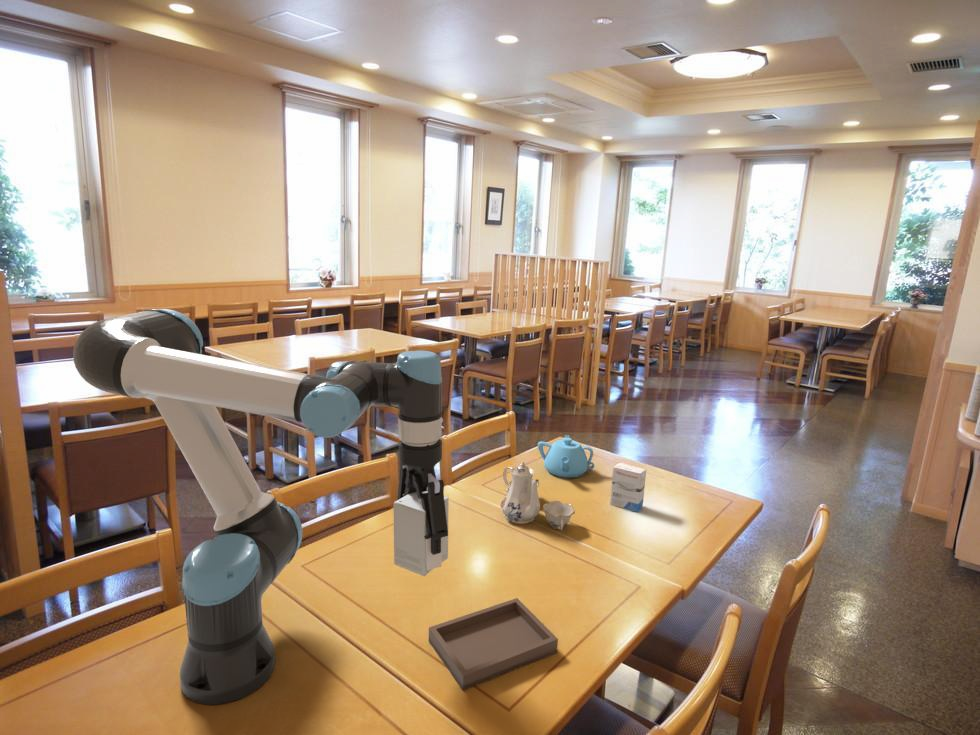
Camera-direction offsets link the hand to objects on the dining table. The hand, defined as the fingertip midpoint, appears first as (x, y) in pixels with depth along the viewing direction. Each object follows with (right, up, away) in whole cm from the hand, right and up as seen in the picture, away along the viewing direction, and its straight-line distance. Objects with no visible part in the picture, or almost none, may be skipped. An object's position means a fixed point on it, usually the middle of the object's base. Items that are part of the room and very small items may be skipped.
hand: (421, 553), depth 109 cm
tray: (+13, -19, +3) cm, 23 cm away
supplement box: (0, -2, 0) cm, 2 cm away
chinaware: (+23, -7, +55) cm, 61 cm away
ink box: (+52, -6, +63) cm, 82 cm away
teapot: (+37, 0, +86) cm, 94 cm away
